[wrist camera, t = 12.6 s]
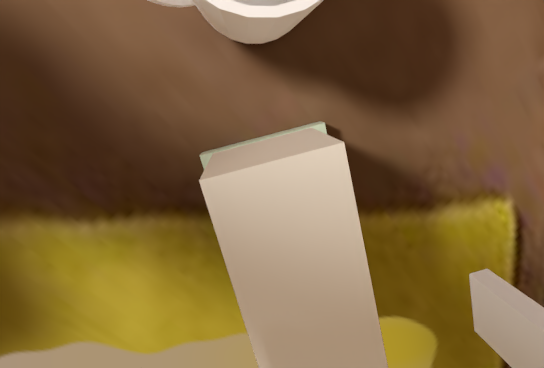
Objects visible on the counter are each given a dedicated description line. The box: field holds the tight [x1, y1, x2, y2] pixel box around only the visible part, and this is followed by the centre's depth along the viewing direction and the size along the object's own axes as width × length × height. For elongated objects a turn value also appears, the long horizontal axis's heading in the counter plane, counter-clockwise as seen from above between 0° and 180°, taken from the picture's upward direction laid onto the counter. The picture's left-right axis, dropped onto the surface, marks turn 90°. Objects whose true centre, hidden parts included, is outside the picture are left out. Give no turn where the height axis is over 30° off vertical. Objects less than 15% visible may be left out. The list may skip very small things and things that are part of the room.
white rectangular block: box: [199, 127, 388, 368], centre depth 22 cm, size 14×7×8 cm, turn 14°
